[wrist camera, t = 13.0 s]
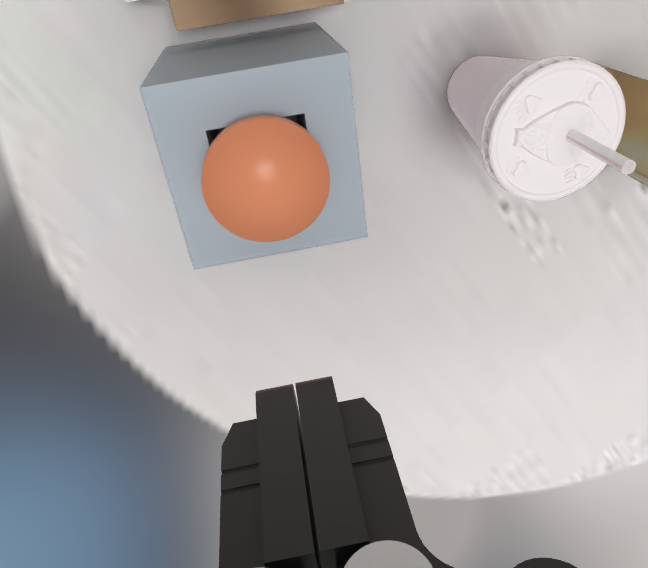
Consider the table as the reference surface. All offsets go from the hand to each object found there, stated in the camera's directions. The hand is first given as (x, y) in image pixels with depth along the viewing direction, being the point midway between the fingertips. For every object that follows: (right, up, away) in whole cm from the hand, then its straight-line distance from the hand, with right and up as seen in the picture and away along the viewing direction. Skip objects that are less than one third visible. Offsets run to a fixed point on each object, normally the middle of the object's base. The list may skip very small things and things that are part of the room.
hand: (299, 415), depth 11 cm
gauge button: (-3, +10, +17) cm, 20 cm away
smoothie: (+9, +14, +22) cm, 28 cm away
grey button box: (-3, +12, +21) cm, 25 cm away
